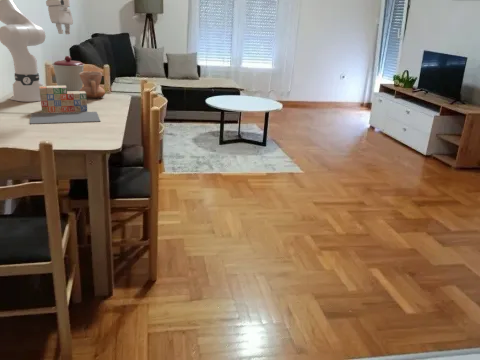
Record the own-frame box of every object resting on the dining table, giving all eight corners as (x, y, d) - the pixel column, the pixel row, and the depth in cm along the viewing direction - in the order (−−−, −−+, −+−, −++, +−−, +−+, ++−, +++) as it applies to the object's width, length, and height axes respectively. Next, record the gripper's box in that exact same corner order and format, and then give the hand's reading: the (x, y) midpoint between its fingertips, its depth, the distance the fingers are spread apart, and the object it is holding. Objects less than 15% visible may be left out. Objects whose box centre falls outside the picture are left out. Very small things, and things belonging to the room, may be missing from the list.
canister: (75, 88, 289) (73, 53, 281) (92, 92, 278) (90, 57, 271) (48, 91, 275) (45, 55, 268) (65, 95, 265) (62, 58, 258)
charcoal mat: (31, 114, 220) (31, 113, 219) (96, 112, 230) (96, 111, 230) (29, 124, 202) (29, 123, 202) (100, 121, 213) (100, 120, 213)
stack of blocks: (86, 109, 237) (84, 85, 233) (87, 111, 232) (86, 87, 227) (41, 110, 229) (39, 85, 225) (41, 112, 224) (39, 87, 219)
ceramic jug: (78, 95, 269) (76, 70, 264) (104, 94, 274) (102, 70, 269) (80, 101, 254) (78, 75, 248) (107, 101, 259) (105, 75, 253)
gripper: (60, 5, 223) (65, 35, 227) (44, 1, 203) (49, 34, 207) (73, 4, 223) (78, 34, 227) (58, 0, 203) (63, 33, 207)
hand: (64, 34), depth 217 cm, fingers open, 8 cm apart
